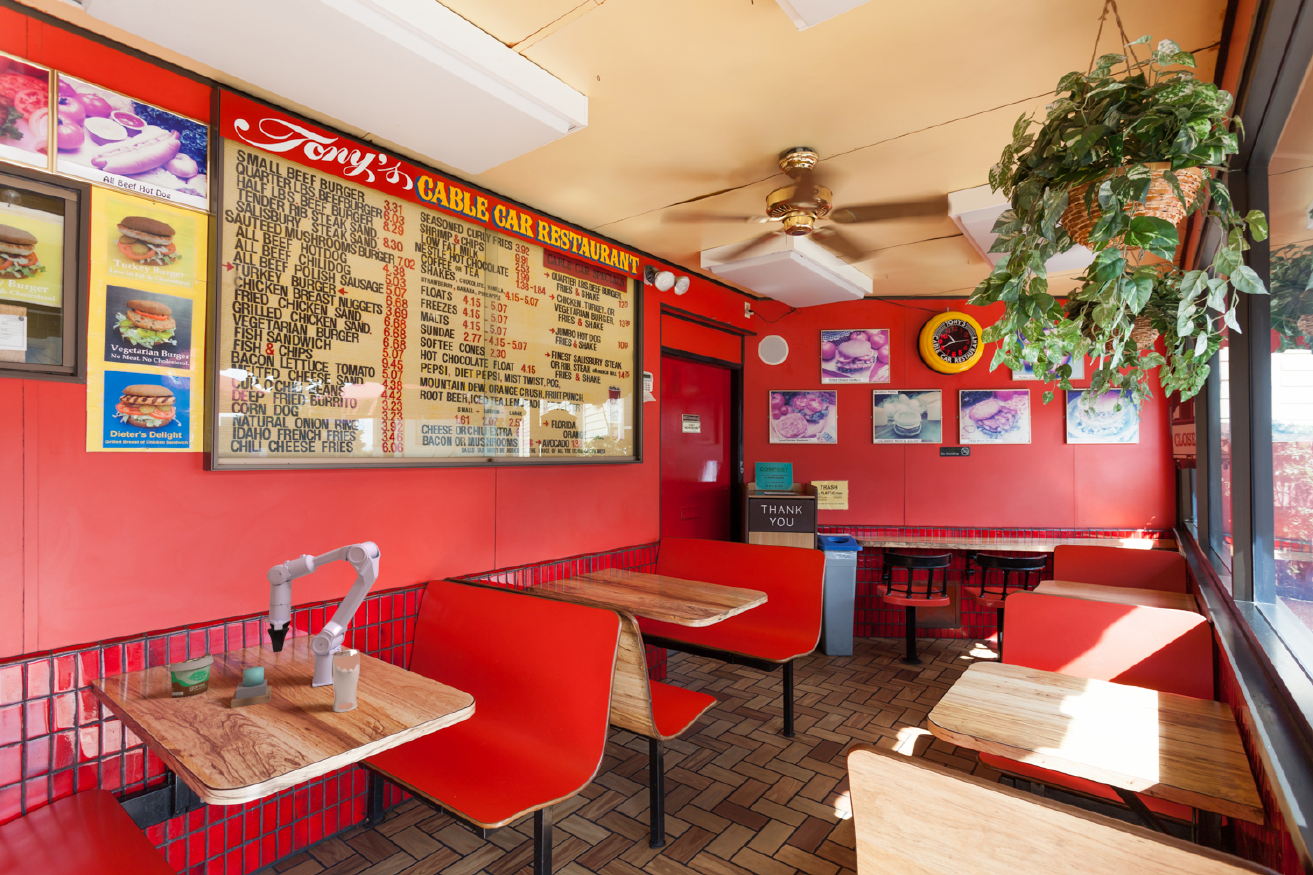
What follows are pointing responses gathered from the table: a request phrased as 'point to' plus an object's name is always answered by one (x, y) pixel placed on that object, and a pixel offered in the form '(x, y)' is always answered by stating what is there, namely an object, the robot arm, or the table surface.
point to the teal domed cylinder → (253, 676)
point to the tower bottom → (252, 699)
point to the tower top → (251, 690)
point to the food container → (190, 676)
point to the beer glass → (345, 679)
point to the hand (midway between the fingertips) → (278, 648)
